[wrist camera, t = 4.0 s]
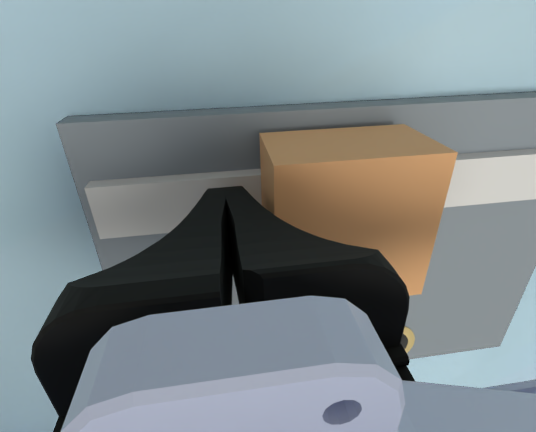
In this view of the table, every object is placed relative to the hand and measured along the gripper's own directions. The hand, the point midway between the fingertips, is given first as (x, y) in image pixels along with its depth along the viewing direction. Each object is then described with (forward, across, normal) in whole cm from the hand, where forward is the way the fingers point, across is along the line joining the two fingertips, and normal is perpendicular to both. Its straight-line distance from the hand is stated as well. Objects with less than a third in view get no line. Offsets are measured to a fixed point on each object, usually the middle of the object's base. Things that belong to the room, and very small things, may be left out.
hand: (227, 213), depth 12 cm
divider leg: (+1, -4, +4) cm, 5 cm away
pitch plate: (+2, -5, +4) cm, 7 cm away
